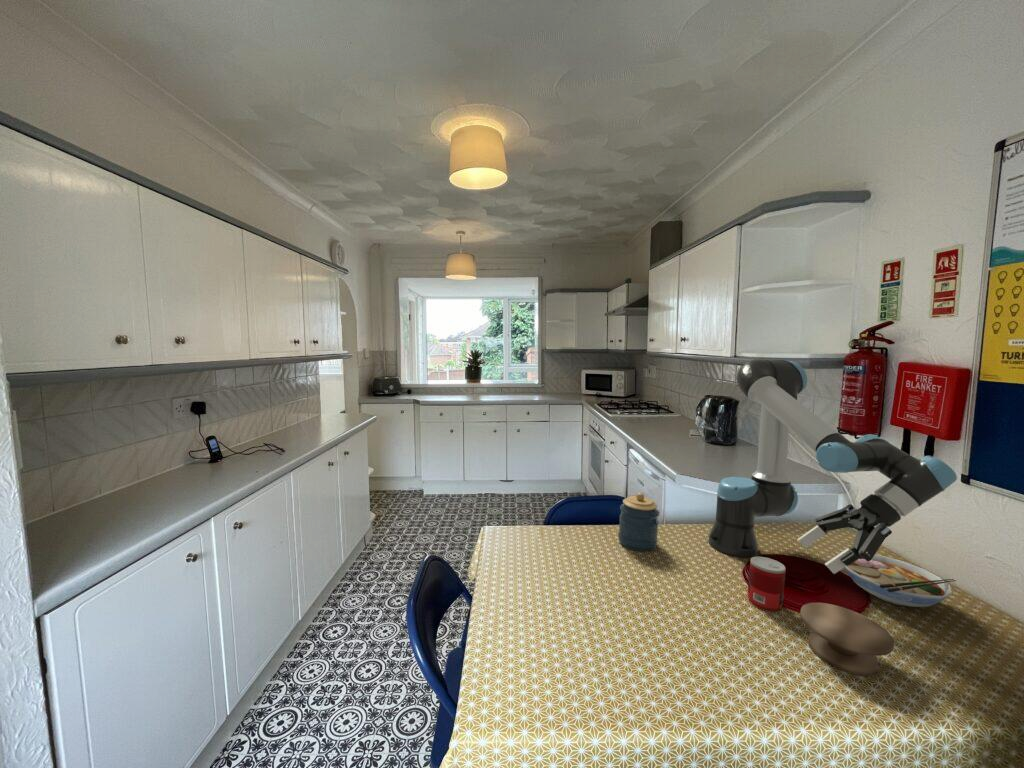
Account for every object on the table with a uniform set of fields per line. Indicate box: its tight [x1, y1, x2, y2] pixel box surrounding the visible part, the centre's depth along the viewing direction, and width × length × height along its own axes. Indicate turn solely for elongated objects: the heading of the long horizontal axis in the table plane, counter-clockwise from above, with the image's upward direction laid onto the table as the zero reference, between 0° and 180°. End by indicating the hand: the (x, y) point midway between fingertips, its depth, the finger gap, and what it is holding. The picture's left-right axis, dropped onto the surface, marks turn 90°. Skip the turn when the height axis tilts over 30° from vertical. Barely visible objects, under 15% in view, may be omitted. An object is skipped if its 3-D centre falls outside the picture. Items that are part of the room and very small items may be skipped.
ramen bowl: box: [843, 554, 957, 608], centre depth 114 cm, size 25×23×8 cm
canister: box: [617, 492, 660, 552], centre depth 142 cm, size 13×13×18 cm
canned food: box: [747, 556, 787, 612], centre depth 110 cm, size 8×8×11 cm
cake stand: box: [799, 602, 895, 677], centre depth 91 cm, size 16×16×7 cm
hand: (814, 555), depth 107 cm, fingers open, 13 cm apart
